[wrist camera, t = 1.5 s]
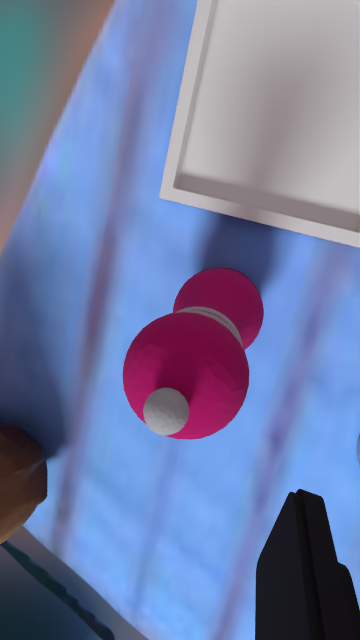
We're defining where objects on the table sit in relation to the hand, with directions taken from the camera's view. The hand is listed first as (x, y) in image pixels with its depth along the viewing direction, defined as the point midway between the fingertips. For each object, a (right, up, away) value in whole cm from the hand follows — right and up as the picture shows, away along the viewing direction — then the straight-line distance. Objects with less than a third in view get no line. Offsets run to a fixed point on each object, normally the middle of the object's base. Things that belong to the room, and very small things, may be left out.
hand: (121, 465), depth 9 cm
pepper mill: (+6, +6, +21) cm, 23 cm away
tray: (+10, +20, +15) cm, 28 cm away
